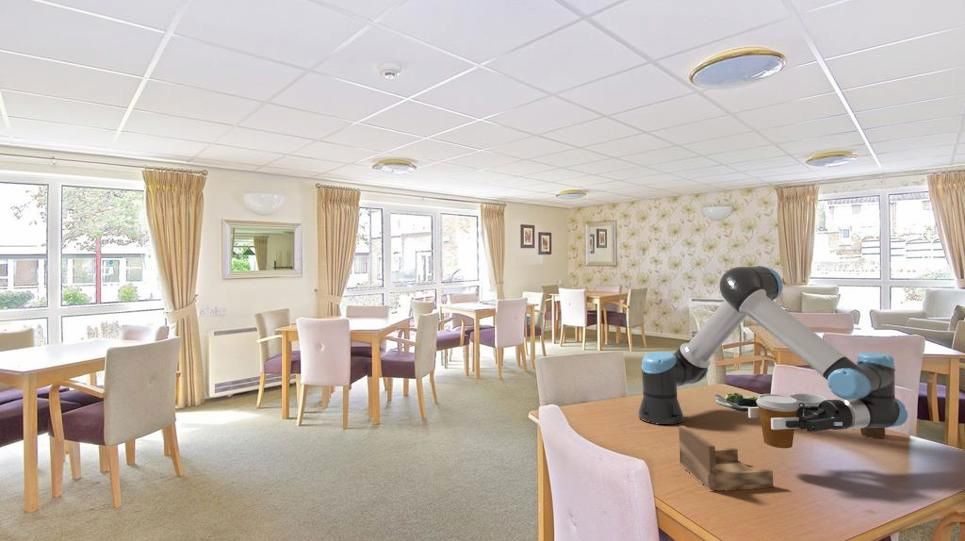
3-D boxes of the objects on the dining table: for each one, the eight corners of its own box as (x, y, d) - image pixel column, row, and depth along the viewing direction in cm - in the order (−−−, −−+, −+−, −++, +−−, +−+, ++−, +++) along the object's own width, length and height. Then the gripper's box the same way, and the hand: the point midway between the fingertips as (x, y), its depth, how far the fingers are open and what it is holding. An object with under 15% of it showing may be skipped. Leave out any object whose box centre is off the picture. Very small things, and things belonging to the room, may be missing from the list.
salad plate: (701, 402, 188) (700, 390, 188) (731, 395, 195) (731, 384, 195) (745, 414, 170) (744, 402, 170) (776, 407, 177) (776, 395, 177)
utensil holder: (879, 440, 141) (878, 401, 141) (855, 434, 146) (854, 396, 146) (889, 436, 143) (887, 398, 143) (865, 430, 149) (863, 393, 149)
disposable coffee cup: (748, 438, 126) (748, 394, 125) (781, 436, 126) (780, 392, 126) (773, 452, 116) (772, 404, 116) (809, 450, 117) (808, 402, 117)
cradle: (735, 462, 128) (734, 422, 128) (773, 487, 113) (771, 442, 113) (680, 465, 127) (678, 425, 127) (710, 491, 112) (709, 446, 112)
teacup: (834, 425, 155) (833, 401, 155) (798, 424, 157) (797, 400, 157) (813, 412, 169) (812, 390, 169) (780, 411, 171) (780, 390, 171)
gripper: (879, 443, 112) (789, 448, 110) (811, 415, 133) (735, 419, 131) (878, 412, 112) (789, 416, 110) (811, 389, 133) (735, 392, 131)
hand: (760, 418), depth 121 cm, fingers closed on disposable coffee cup, 8 cm apart
